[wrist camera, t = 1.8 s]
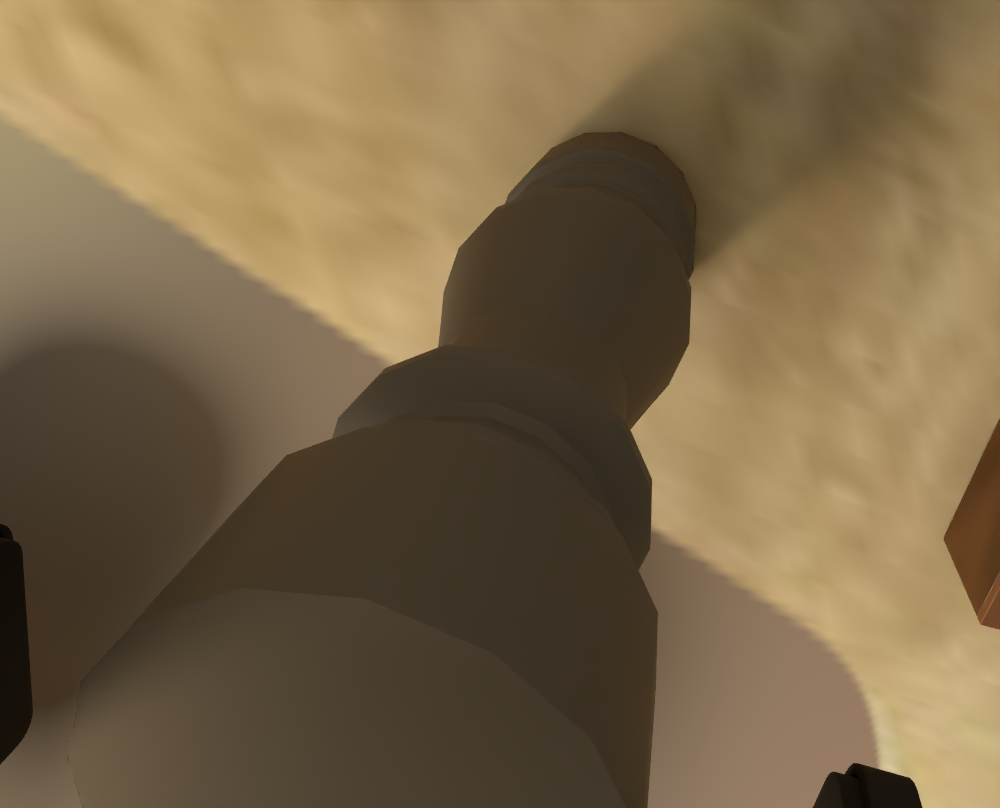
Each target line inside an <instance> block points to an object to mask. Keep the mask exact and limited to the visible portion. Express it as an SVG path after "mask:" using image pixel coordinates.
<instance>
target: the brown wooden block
mask: <svg viewBox="0 0 1000 808" xmlns="http://www.w3.org/2000/svg"><path fill="white" fill-rule="evenodd" d="M944 541H945V544H946V546H947V548H948V551H949V553H950V555H951V557H952V560H953V562H954V564H955V567H956V569H957V571H958V574H959V576H960V578H961V581H962V583H963V585H964V587H965V590H966V592H967V594H968V597H969V599H970V601H971V604H972V606H973V608H974V611H975V613H976V615H977V616H978V617H977V618H978V620H979V623H980V624H981V625H984V626H988V627H992V628H996V629H1000V420H999V422H998V424H997V426H996V429H995V431H994V433H993V435H992V437H991V439H990V441H989V443H988V446H987V448H986V450H985V452H984V454H983V456H982V458H981V461H980V463H979V465H978V467H977V469H976V471H975V473H974V475H973V478H972V480H971V482H970V484H969V486H968V488H967V490H966V492H965V495H964V497H963V499H962V501H961V503H960V505H959V507H958V509H957V512H956V514H955V516H954V518H953V520H952V522H951V524H950V526H949V529H948V531H947V533H946V535H945V537H944Z"/></svg>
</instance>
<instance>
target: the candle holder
mask: <svg viewBox="0 0 1000 808" xmlns="http://www.w3.org/2000/svg"><path fill="white" fill-rule="evenodd" d="M695 219H696V206H695V203H694V201H693V198H692V196H691V193H690V190H689V188H688V185H687V183H686V180H685V177H684V175H683V173H682V172H681V171H680V170H679V169H678V168H677V167H676V166H675V164H674V163H673V162H672V161H671V160H670V159H669V158H668V157H667V156H666V155H665V154H664V153H663V152H662V151H661V150H660V149H659V148H658V147H657V146H654V145H652V144H650V143H647V142H645V141H642V140H640V139H637V138H635V137H632V136H630V135H627V134H625V133H622V132H617V133H584V134H582V135H580V136H578V137H575V138H573V139H571V140H569V141H567V142H564V143H562V144H560V145H558V146H556V147H553V148H551V149H550V150H549V151H548V152H547V153H546V155H545V156H544V157H543V158H542V159H541V160H540V161H539V162H538V163H537V164H536V165H535V166H534V167H533V168H532V169H531V170H530V171H529V172H528V174H527V175H526V176H525V177H524V178H523V179H522V180H521V181H520V182H519V183H518V184H517V185H516V187H515V188H514V189H513V190H512V191H511V192H510V193H509V194H508V197H507V200H506V203H505V204H504V205H502V206H499V207H497V208H496V209H495V210H494V211H493V212H492V213H491V214H490V215H489V216H488V217H487V218H486V219H485V220H484V221H483V223H482V224H481V225H480V226H479V227H478V228H477V229H476V230H475V231H474V232H473V233H472V234H471V236H470V237H469V238H468V239H467V240H466V241H465V242H464V243H463V244H462V245H461V246H460V247H459V249H458V252H457V255H456V258H455V261H454V264H453V267H452V270H451V272H450V275H449V278H448V281H447V284H446V287H445V290H444V296H443V306H442V318H441V328H440V336H439V345H438V348H436V349H433V350H431V351H428V352H426V353H423V354H420V355H418V356H415V357H413V358H410V359H407V360H405V361H402V362H400V363H397V364H395V365H392V366H389V367H387V368H385V369H384V370H383V371H382V372H381V374H379V376H378V377H377V378H376V379H375V380H374V381H373V382H372V383H371V384H370V385H369V386H368V387H367V388H366V389H365V390H364V391H363V392H362V393H361V394H360V395H359V397H357V399H356V400H355V401H354V402H353V403H352V404H351V405H350V406H349V407H348V408H347V409H346V410H345V411H344V412H343V413H342V414H341V416H340V417H339V418H338V421H337V424H336V428H335V431H334V434H333V437H332V439H330V440H327V441H324V442H322V443H319V444H316V445H313V446H311V447H308V448H305V449H302V450H300V451H297V452H295V453H292V454H289V455H286V456H285V457H284V459H283V460H282V461H281V462H280V463H279V464H278V465H277V466H276V467H275V468H274V469H273V470H272V471H271V472H270V473H269V474H268V476H267V477H266V478H265V479H264V480H263V481H262V482H261V483H260V484H259V485H258V486H257V487H256V488H255V489H254V490H253V491H252V493H251V494H250V495H249V496H248V497H247V498H246V499H245V500H244V501H243V502H242V503H241V504H240V505H239V507H237V509H236V510H235V511H234V512H233V513H232V514H231V515H230V516H229V517H228V518H227V520H226V521H225V522H224V523H223V524H222V525H221V526H220V527H219V528H218V530H217V531H216V532H215V533H214V534H213V535H212V536H211V537H210V538H209V540H208V541H207V542H206V543H205V544H204V545H203V546H202V547H201V548H200V550H199V551H198V552H197V553H196V554H195V555H194V556H193V558H191V560H190V561H189V562H188V563H187V564H186V565H185V566H184V567H183V568H182V570H181V571H180V572H179V573H178V574H177V575H176V576H175V577H174V578H173V580H172V581H171V582H170V583H169V584H168V585H167V586H166V587H165V588H164V590H163V591H162V592H161V593H160V594H159V595H158V596H157V597H156V598H155V600H154V601H153V602H152V603H151V604H150V605H149V606H148V607H147V608H146V610H145V611H144V612H143V613H142V614H141V615H140V616H139V617H138V618H137V619H136V621H135V622H134V623H133V624H132V625H131V626H130V627H129V628H128V629H127V631H126V632H125V633H124V634H123V635H122V636H121V637H120V638H119V639H118V641H117V642H116V643H115V644H114V645H113V646H112V647H111V648H110V649H109V651H108V652H107V653H106V654H105V655H104V656H103V657H102V658H101V660H100V661H99V662H98V663H97V664H96V665H95V666H94V667H93V668H92V669H91V671H90V672H89V673H88V674H87V675H86V676H85V678H83V679H82V681H81V684H80V690H79V696H78V701H77V707H76V712H75V718H74V723H73V729H72V735H71V740H70V746H69V751H68V757H67V760H68V764H69V767H70V770H71V773H72V776H73V779H74V783H75V786H76V789H77V792H78V795H79V798H80V801H81V805H82V808H647V805H648V790H649V777H650V762H651V748H652V734H653V719H654V704H655V690H656V658H657V623H658V620H657V619H658V612H657V610H656V608H655V606H654V604H653V601H652V599H651V597H650V595H649V593H648V590H647V588H646V586H645V584H644V582H643V580H642V577H641V575H640V573H639V571H638V570H639V568H640V567H641V565H642V563H643V561H644V559H645V557H646V555H647V553H648V552H649V550H650V542H651V501H652V479H651V476H650V474H649V471H648V469H647V467H646V465H645V462H644V460H643V458H642V456H641V453H640V451H639V449H638V446H637V444H636V442H635V440H634V437H633V435H632V433H631V431H630V429H631V428H632V427H633V426H634V425H635V423H636V422H637V421H638V420H639V419H640V417H641V416H642V415H643V414H644V413H645V411H646V410H647V409H648V408H649V407H650V406H651V404H652V403H653V402H654V401H655V400H656V399H657V398H658V396H659V395H660V394H661V393H662V392H663V391H664V390H665V388H666V387H667V386H668V385H669V383H670V381H671V379H672V377H673V375H674V373H675V371H676V369H677V367H678V365H679V363H680V361H681V359H682V357H683V355H684V352H685V350H686V348H687V346H688V344H689V334H690V308H691V286H690V283H689V281H688V280H689V278H690V276H691V274H692V272H693V269H694V244H695Z"/></svg>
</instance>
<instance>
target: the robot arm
mask: <svg viewBox="0 0 1000 808" xmlns="http://www.w3.org/2000/svg"><path fill="white" fill-rule="evenodd" d="M24 587H25V586H24V571H23V556H22V549H21V546H20V545H19V543H17V542H15V541H13V536H12V532H11V531H10V529H9V528H8V527H7V526H5V525H2V524H0V764H1V763H2V762H3V761H4V760H5V759H6V758H7V756H9V754H10V753H11V752H12V751H13V750H14V749H15V748H16V747H17V746H18V744H19V743H20V742H21V741H22V739H23V737H24V736H25V734H26V732H27V730H28V728H29V726H30V723H31V719H32V713H33V707H32V692H31V676H30V662H29V646H28V631H27V616H26V601H25V588H24ZM813 808H922V805H921V801H920V798H919V794H918V791H917V788H916V786H915V783H914V782H913V781H912V780H911V779H910V778H908V777H905V776H901V775H897V774H894V773H890V772H887V771H883V770H880V769H876V768H872V767H869V766H865V765H862V764H857V763H853V764H852V765H851V766H850V767H849V768H848V770H847V771H846V773H845V775H844V774H841V773H837V772H831V773H830V774H829V775H828V777H827V778H826V780H825V782H824V785H823V787H822V789H821V791H820V794H819V795H818V798H817V800H816V802H815V804H814V806H813Z"/></svg>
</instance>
